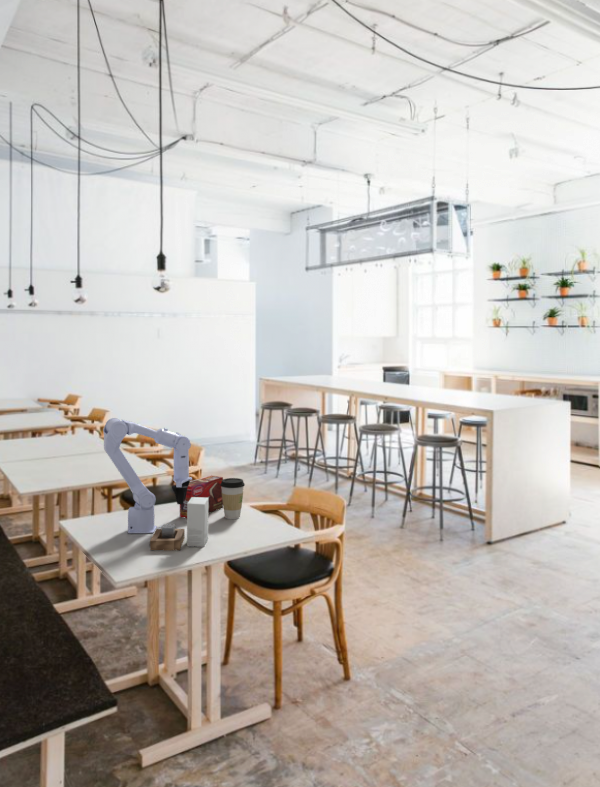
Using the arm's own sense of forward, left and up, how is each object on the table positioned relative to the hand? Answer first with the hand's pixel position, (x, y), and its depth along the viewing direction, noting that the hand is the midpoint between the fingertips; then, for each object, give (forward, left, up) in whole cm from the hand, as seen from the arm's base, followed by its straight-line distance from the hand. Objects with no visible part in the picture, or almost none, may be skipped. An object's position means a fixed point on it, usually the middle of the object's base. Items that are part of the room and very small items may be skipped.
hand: (181, 501), depth 244 cm
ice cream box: (+6, +18, -10) cm, 21 cm away
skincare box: (+8, -21, -10) cm, 25 cm away
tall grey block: (-2, -22, -9) cm, 24 cm away
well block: (-2, -22, -9) cm, 24 cm away
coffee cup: (+19, +11, -10) cm, 24 cm away
